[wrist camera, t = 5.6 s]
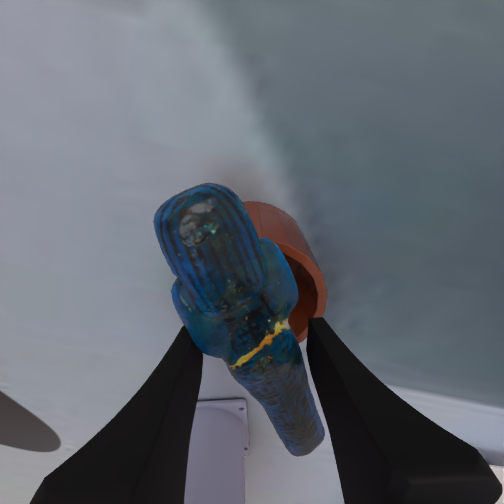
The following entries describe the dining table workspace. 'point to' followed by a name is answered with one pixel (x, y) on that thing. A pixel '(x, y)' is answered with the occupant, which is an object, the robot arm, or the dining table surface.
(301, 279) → the cup
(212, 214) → the figurine
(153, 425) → the robot arm
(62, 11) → the dining table surface
